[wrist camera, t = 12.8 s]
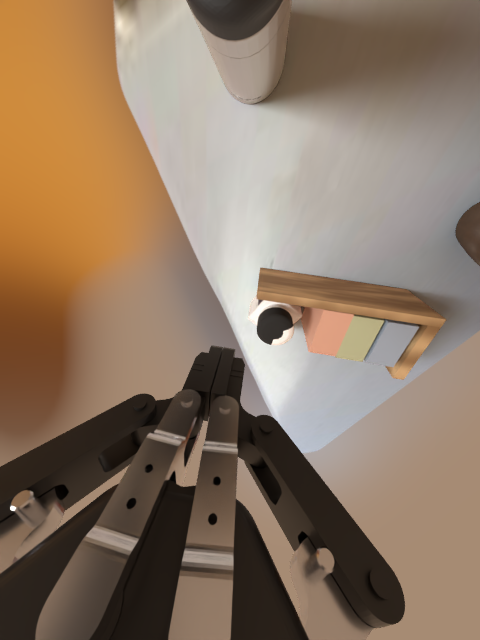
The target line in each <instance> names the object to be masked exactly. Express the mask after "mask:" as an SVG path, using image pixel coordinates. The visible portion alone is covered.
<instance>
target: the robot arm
mask: <svg viewBox="0 0 480 640" xmlns="http://www.w3.org/2000/svg"><path fill="white" fill-rule="evenodd" d="M187 3H188V5H189V7H190V9H191V11H192V14H193V16H194V18H195V20H196V23H197V25H198V27H199V29H200V31H201V33H202V36H203V38H204V40H205V42H206V44H207V47H208V49H209V51H210V53H211V56H212V58H213V60H214V62H215V64H216V67H217V69H218V71H219V73H220V75H221V78H222V80H223V82H224V84H225V87H226V88H227V90H228V91H229V93H230V94H231V95H232V96H233V97H234V98H235V99H237V100H238V101H240V102H243V103H246V104H254V103H257V102H260V101H262V100H263V99H265V98H267V97H268V96H269V95H270V94H271V93H272V91H273V90H274V88H275V87H276V86H277V84H278V82H279V79H280V77H281V74H282V71H283V67H284V61H285V53H286V46H287V38H288V29H289V21H290V13H291V4H292V0H187ZM234 356H235V349H231V348H226V347H224V348H223V347H219V346H211V348H210V351H209V353H204V352H201V353H200V354H199V355H198V356H197V357H196V358H195V361H194V363H193V366H192V368H191V370H190V372H189V375H188V377H187V380H186V382H185V384H184V387H183V389H182V391H180V392H178V393H177V394H176V395H175V396H174V397H173V398H170V399H166V400H157V401H155V399H154V397H153V396H151V395H149V394H138V395H136V396H133V397H132V398H130V399H128V400H126V401H124V402H122V403H120V404H119V405H116V406H115V407H113V408H111V409H109V410H107V411H105V412H103V413H101V414H99V415H98V416H96V417H94V418H92V419H90V420H88V421H86V422H84V423H83V424H80V425H79V426H77V427H75V428H73V429H71V430H69V431H67V432H66V433H63V434H62V435H60V436H58V437H56V438H54V439H52V440H50V441H48V442H47V443H44V444H43V445H41V446H39V447H37V448H35V449H33V450H31V451H29V452H28V453H26V454H24V455H22V456H20V457H18V458H16V459H14V460H12V461H10V462H8V463H7V464H5V465H3V466H1V467H0V640H366V638H367V637H368V635H369V633H370V632H371V630H373V629H377V628H381V627H385V626H389V625H393V624H396V623H398V622H399V621H400V620H401V619H402V617H403V615H404V611H405V601H404V595H403V591H402V588H401V585H400V583H399V581H398V579H397V577H396V575H395V573H394V572H393V570H392V569H391V567H390V566H389V565H388V564H387V562H386V561H385V560H384V558H383V557H382V556H381V555H380V553H379V552H378V551H377V549H376V548H375V547H374V546H373V544H372V543H371V542H370V540H369V539H368V538H367V537H366V535H365V534H364V533H363V531H362V530H361V529H360V528H359V526H358V525H357V524H356V522H355V521H354V520H353V519H352V517H351V516H350V515H349V513H348V512H347V511H346V510H345V508H344V507H343V506H342V504H341V503H340V502H339V501H338V499H337V498H336V497H335V495H334V494H333V493H332V491H331V490H330V489H329V488H328V486H327V485H326V484H325V482H324V481H323V480H322V479H321V477H320V476H319V475H318V473H317V472H316V471H315V470H314V468H313V467H312V466H311V464H310V463H309V462H308V461H307V459H306V458H305V457H304V455H303V454H302V453H301V451H300V450H299V449H298V448H297V446H296V445H295V444H294V442H293V441H292V440H291V439H290V437H289V436H288V435H287V433H286V432H285V431H284V430H283V428H282V427H281V426H280V424H279V423H278V422H277V421H276V420H275V419H274V418H272V417H271V416H268V415H260V416H257V417H255V416H253V415H251V414H249V413H247V412H246V411H245V410H244V409H243V408H242V406H241V403H240V396H241V389H242V382H243V375H244V367H245V364H244V362H243V360H242V359H241V358H235V357H234ZM208 419H209V422H208V428H207V433H206V439H205V444H204V446H203V451H202V456H201V461H200V467H199V472H198V478H197V484H196V486H189V487H183V484H184V479H185V474H186V471H187V468H188V465H189V462H190V459H191V456H192V454H193V451H194V448H195V445H196V443H197V440H198V437H199V434H200V430H201V427H202V423H203V420H204V421H208ZM238 457H239V458H241V459H243V460H244V461H245V464H246V466H247V468H248V470H249V472H250V473H251V475H252V477H253V479H254V480H255V482H256V484H257V486H258V487H259V489H260V491H261V493H262V495H263V496H264V498H265V500H266V502H267V503H268V505H269V507H270V509H271V510H272V512H273V514H274V516H275V518H276V519H277V521H278V523H279V525H280V527H281V528H282V530H283V532H284V534H285V535H286V537H287V539H288V541H289V543H290V544H291V546H292V548H293V550H294V551H295V552H294V554H293V555H292V558H291V562H290V573H291V578H292V582H293V585H294V587H295V590H296V592H297V595H298V599H299V608H300V615H299V617H298V614H297V612H296V610H295V608H294V605H293V603H292V601H291V599H290V597H289V595H288V592H287V591H286V588H285V586H284V584H283V582H282V580H281V577H280V575H279V573H278V571H277V569H276V567H275V565H274V562H273V560H272V558H271V556H270V554H269V551H268V549H267V547H266V545H265V543H264V541H263V539H262V536H261V534H260V532H259V530H258V528H257V525H256V523H255V521H254V520H253V517H252V516H251V514H250V513H249V511H248V510H247V509H246V507H245V506H244V505H243V504H242V503H241V502H239V501H238V500H237V499H236V484H237V463H238ZM128 465H130V466H129V467H128V469H127V471H126V473H125V474H124V476H123V478H122V479H121V481H120V483H119V484H117V485H115V486H113V487H112V488H110V489H108V490H107V491H106V492H104V493H103V494H102V495H100V496H99V497H98V498H97V499H95V500H94V501H93V502H91V503H90V504H89V505H88V506H86V507H85V508H84V509H82V510H81V511H80V512H79V513H77V514H76V515H75V516H73V517H72V518H71V519H70V520H68V521H67V522H66V523H65V524H63V525H62V526H61V527H59V528H58V529H57V527H58V525H59V524H60V522H61V520H62V518H63V515H64V512H65V510H67V509H68V508H70V507H71V506H72V505H74V504H75V503H76V502H78V501H79V500H81V499H82V498H84V497H85V496H86V495H88V494H89V493H90V492H92V491H93V490H95V489H96V488H98V487H99V486H100V485H102V484H103V483H104V482H106V481H107V480H108V479H110V478H111V477H113V476H114V475H115V474H117V473H118V472H120V471H121V470H123V469H124V468H125V467H127V466H128ZM56 529H57V530H56ZM55 530H56V531H55Z"/></svg>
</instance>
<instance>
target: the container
mask: <svg viewBox="0 0 480 640" xmlns="http://www.w3.org/2000/svg"><path fill="white" fill-rule="evenodd" d="M256 298H257V295H256V297H255V298H254V299H253V300H252V301H251V303H250V309H249V315H248V319H249V320H250V321H251V322H253V323H254V324H255V325H257V334H258V336H259V338H260V339H261V340H262V341H263V342H265V343H267V344H270V345H281V344H284V343H286V342H287V341H289V340H290V339H291V337H292V336H293V333H294V325H293V324H294V323H295V322H297V321H298V320H299V319H300V318H301V317H302V311H301V307H300V306H298V305H291V304H285V303H278V302H272V301H265V300H259V299H256Z"/></svg>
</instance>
